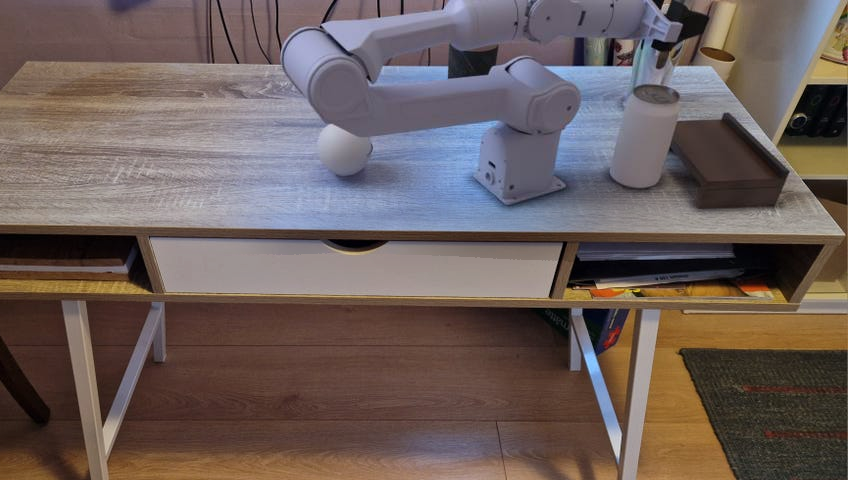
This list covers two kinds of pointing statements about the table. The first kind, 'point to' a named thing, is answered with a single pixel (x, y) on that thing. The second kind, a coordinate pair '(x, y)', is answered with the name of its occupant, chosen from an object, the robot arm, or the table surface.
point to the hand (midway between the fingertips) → (681, 14)
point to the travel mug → (471, 61)
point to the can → (645, 135)
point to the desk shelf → (728, 163)
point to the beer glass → (653, 62)
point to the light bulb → (343, 151)
